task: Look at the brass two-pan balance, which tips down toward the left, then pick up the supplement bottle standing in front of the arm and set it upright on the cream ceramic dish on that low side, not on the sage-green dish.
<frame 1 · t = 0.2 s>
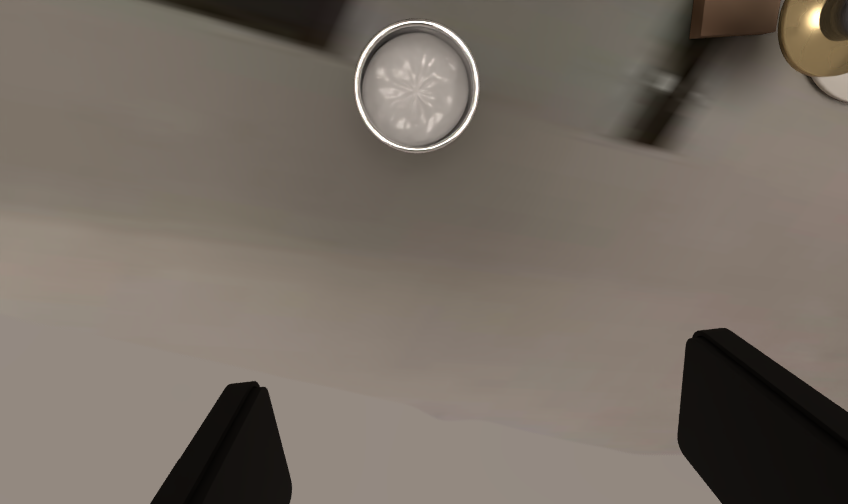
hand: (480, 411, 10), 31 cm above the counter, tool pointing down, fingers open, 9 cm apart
beer glass: (413, 95, 37), on the counter
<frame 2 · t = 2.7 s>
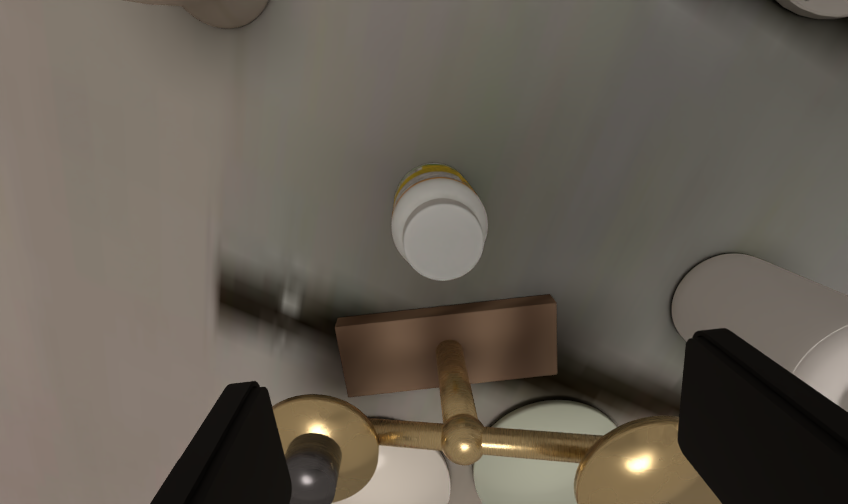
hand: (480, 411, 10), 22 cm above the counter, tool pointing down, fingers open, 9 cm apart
brass balance: (447, 341, 34), on the counter
pill bottle: (718, 298, 34), on the counter
cream dish: (373, 477, 38), on the counter
sage dish: (546, 458, 38), on the counter
supplement bottle: (433, 200, 31), on the counter
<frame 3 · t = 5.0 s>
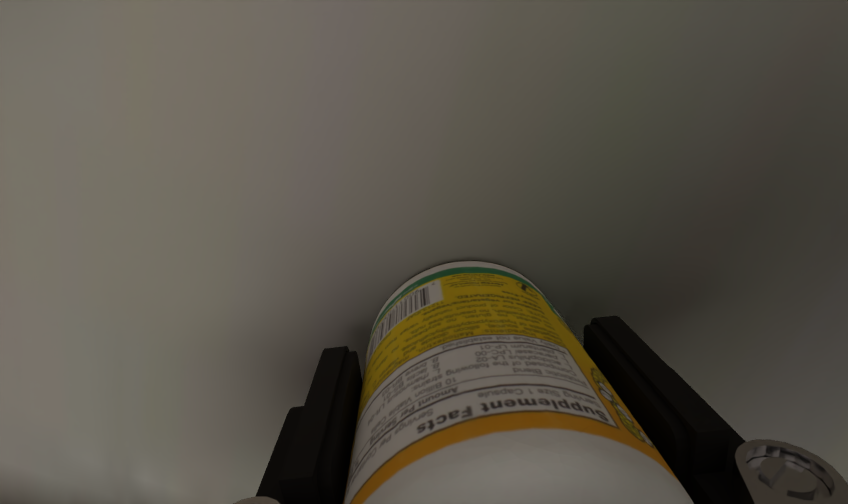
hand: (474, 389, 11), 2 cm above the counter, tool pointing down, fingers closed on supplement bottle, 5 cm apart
supplement bottle: (463, 342, 13), on the counter, touching gripper
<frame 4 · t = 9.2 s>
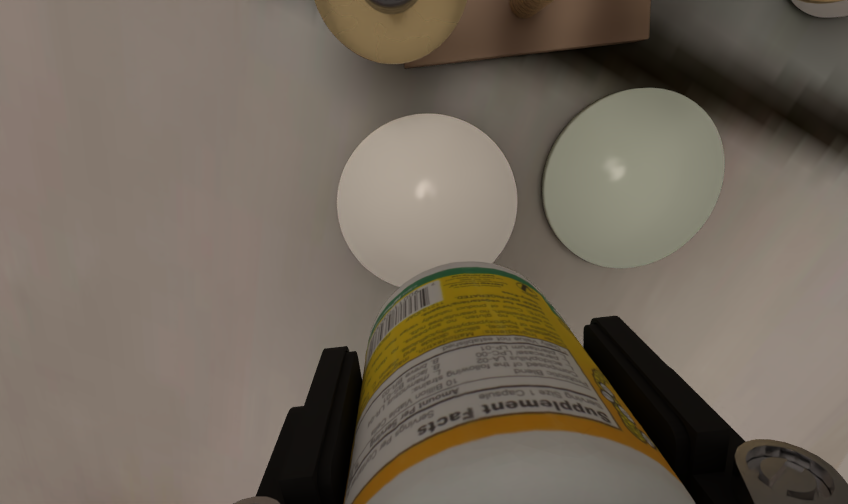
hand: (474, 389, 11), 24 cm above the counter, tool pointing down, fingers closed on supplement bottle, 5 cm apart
brass balance: (519, 6, 29), on the counter
cream dish: (426, 203, 33), on the counter
sage dish: (625, 180, 33), on the counter
supplement bottle: (463, 342, 13), point 21 cm above the counter, touching gripper
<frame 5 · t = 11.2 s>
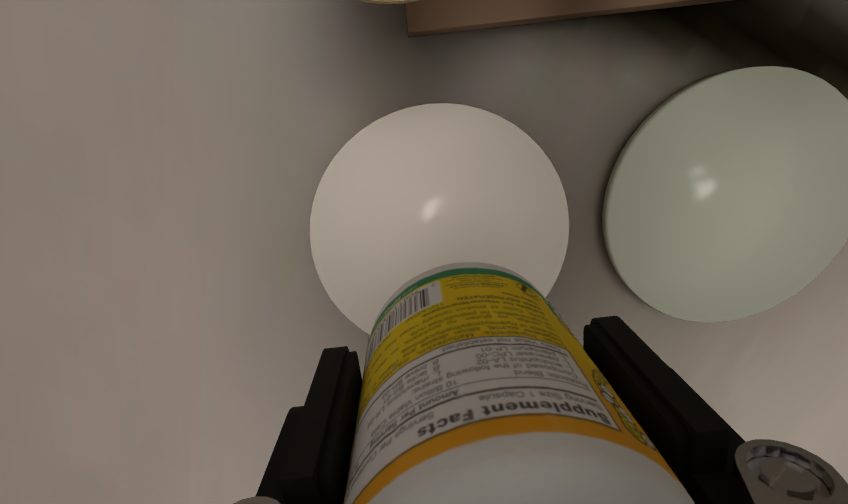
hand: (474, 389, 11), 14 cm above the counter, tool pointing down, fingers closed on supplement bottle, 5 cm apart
cream dish: (438, 232, 23), on the counter
sage dish: (719, 200, 23), on the counter
supplement bottle: (463, 343, 13), point 11 cm above the counter, touching gripper
when the fingers open (5 cm above the counter, at t = 13.2 s): supplement bottle drops 2 cm, resting on cream dish.
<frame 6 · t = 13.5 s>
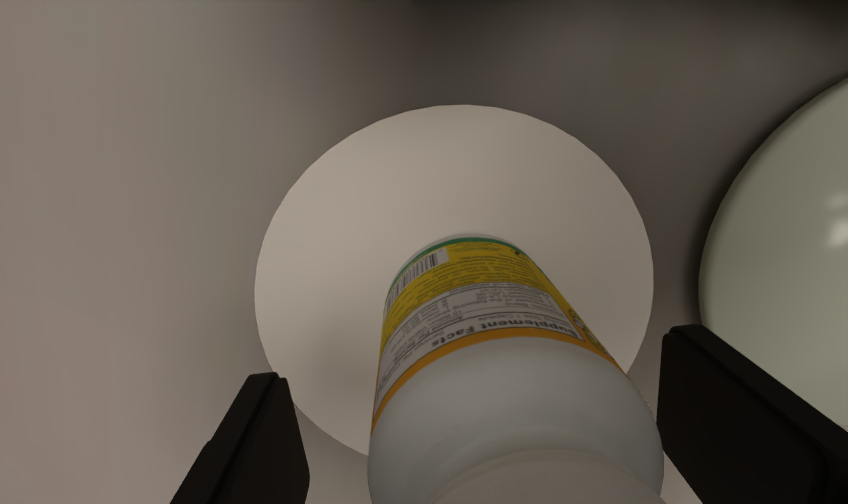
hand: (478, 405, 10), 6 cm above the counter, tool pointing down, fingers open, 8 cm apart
cream dish: (452, 296, 16), on the counter
supplement bottle: (466, 306, 15), point 1 cm above the counter, touching cream dish
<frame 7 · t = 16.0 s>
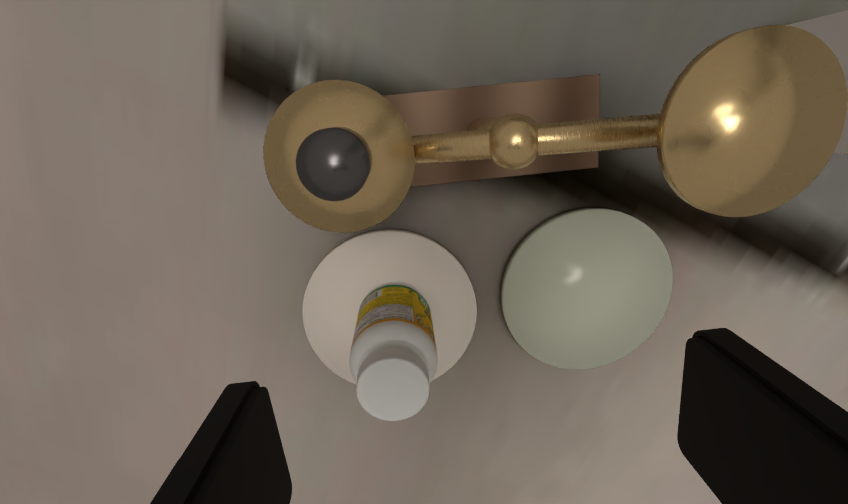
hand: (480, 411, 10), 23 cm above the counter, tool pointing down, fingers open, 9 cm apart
brass balance: (476, 133, 31), on the counter
pill bottle: (770, 88, 31), on the counter
cream dish: (390, 308, 34), on the counter
sage dish: (580, 287, 35), on the counter
supplement bottle: (395, 312, 33), point 1 cm above the counter, touching cream dish
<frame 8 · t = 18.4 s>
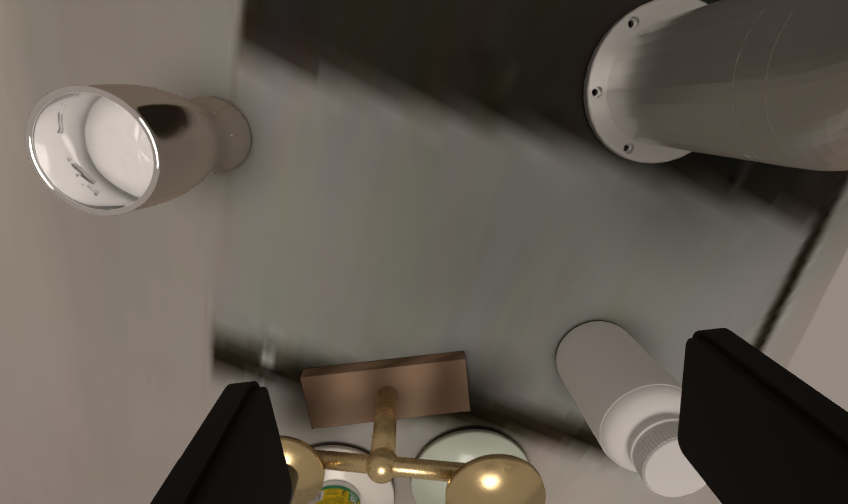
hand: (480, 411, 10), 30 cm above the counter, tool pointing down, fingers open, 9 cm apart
brass balance: (387, 385, 45), on the counter
beer glass: (215, 135, 37), on the counter
pill bottle: (592, 352, 45), on the counter
cream dish: (335, 488, 49), on the counter
sage dish: (470, 473, 49), on the counter
supplement bottle: (336, 496, 48), point 1 cm above the counter, touching cream dish
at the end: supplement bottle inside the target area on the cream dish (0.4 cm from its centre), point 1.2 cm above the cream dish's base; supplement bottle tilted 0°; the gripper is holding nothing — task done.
